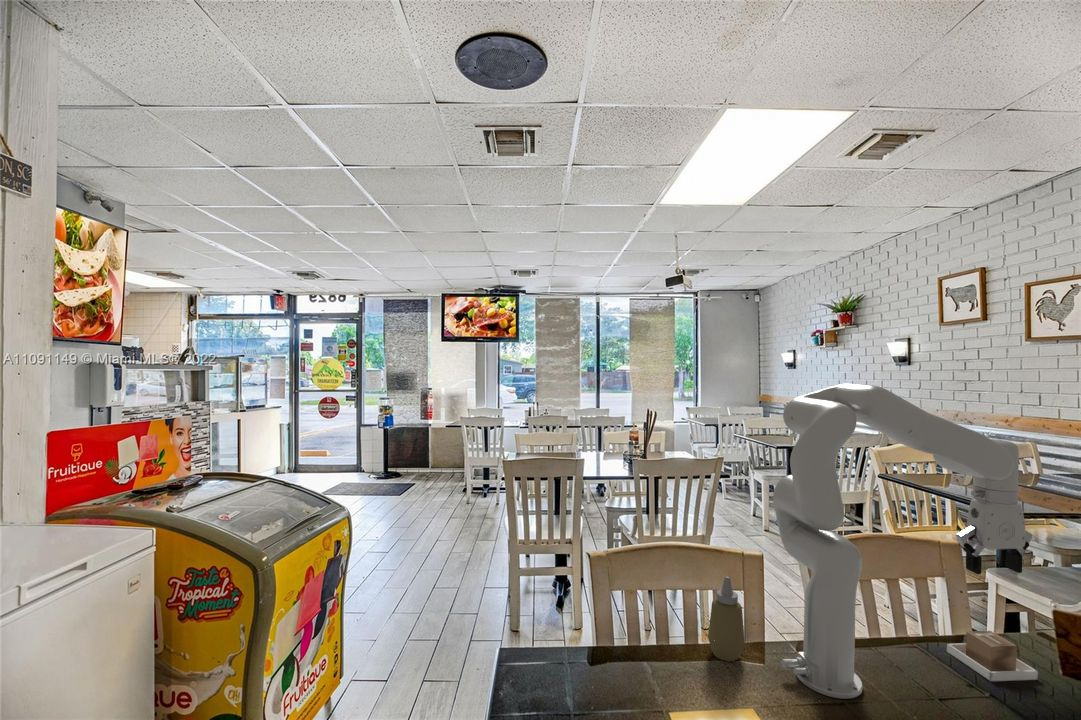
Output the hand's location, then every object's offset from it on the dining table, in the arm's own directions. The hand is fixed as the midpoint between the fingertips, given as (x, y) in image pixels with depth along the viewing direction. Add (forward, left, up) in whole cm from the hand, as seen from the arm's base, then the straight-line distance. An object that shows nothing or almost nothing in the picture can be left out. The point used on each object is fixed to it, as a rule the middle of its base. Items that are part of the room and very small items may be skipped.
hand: (993, 571), depth 114 cm
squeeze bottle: (-58, +7, -22) cm, 63 cm away
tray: (0, 0, -22) cm, 22 cm away
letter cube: (0, 0, -21) cm, 21 cm away
